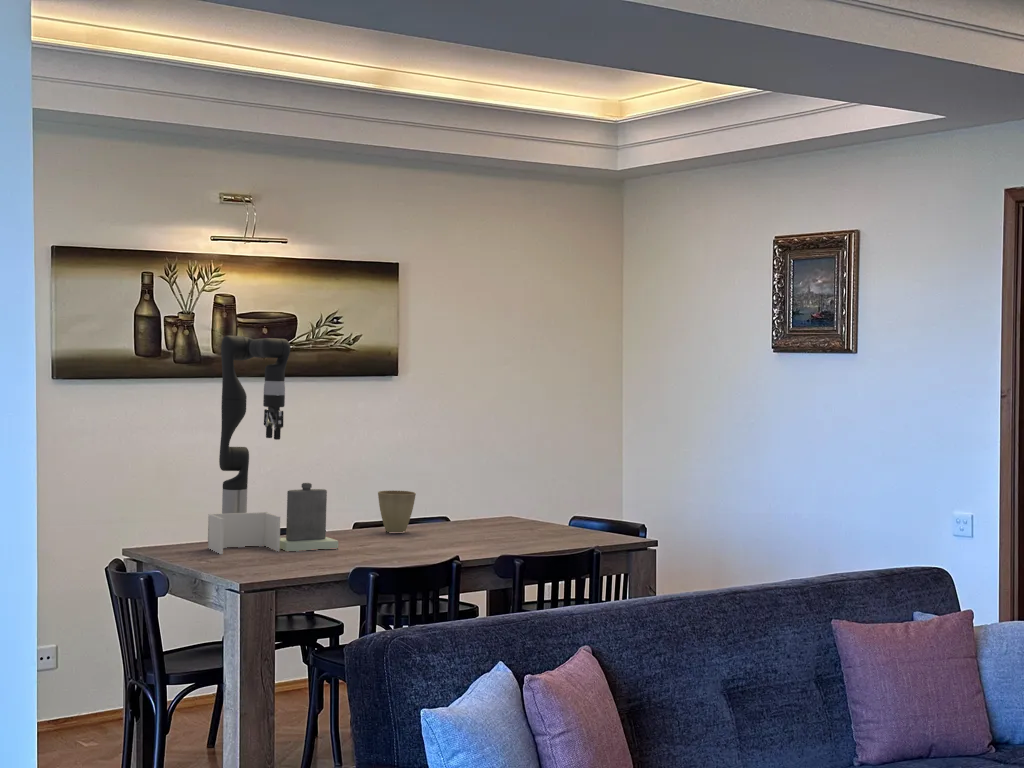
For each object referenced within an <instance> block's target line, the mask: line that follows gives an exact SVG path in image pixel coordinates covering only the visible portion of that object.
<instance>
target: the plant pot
mask: <svg viewBox="0 0 1024 768" xmlns="http://www.w3.org/2000/svg"><path fill="white" fill-rule="evenodd" d="M416 493H417V492H415V491H411V490H410V491H408V490H380V491H377V496H378V497H377V498H378V505H379V506H378V507H379V511H380V515H381V521H382V524H383V526H384V530H385V532H386V531H387V532H403V531H405V532H406V531H407V528H408V525H409V524H410V520H411V518H412V517H411V516H412V514H413V510H414V504H415V500H416ZM387 532H386V533H387Z"/></svg>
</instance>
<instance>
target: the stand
mask: <svg viewBox="0 0 1024 768" xmlns="http://www.w3.org/2000/svg"><path fill="white" fill-rule="evenodd" d="M330 548H338V549H339V540H337V539H334V538H332V537H331V538H330V537H328V536H326V538H325V539H321V540H302V541H287V540H286V537H280V550H281V549H283V550H285V551H284V552H286V551H296V552H300V551H299V550H311V549H330ZM283 550H282V551H283Z"/></svg>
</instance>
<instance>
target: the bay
mask: <svg viewBox="0 0 1024 768" xmlns="http://www.w3.org/2000/svg"><path fill="white" fill-rule="evenodd" d="M207 522H208V524H207V525H208V526H207V549H208V548H209V549H208V550H210V549H211V551H212V550H213V551H212V552H214V551H215V552H214V553H216V552H217V554H218V553H219V554H218V555H224V549H228V548H227V547H238V548H246V547H245V546H259V547H264V546H266V547H265V548H267V547H269V548H271V549H270V550H272V549H274V550H276V551H275V552H277V551H278V552H280V550H281V549H280V538H281V516H278V515H277V514H276V515H275V514H272V513H270V512H267V511H265V512H259V511H258V512H247V513H228V514H222V513H209V514H208V519H207ZM262 545H263V546H262ZM269 548H268V549H269ZM274 550H273V551H274Z"/></svg>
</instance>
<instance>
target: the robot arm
mask: <svg viewBox="0 0 1024 768" xmlns="http://www.w3.org/2000/svg"><path fill="white" fill-rule="evenodd" d="M220 349H221V351H220V352H221V355H220V356H221V370H222V371H221V372H222V379H221V380H222V385H221V387H222V388H221V389H222V390H221V407H220V408H221V432H220V442H219V443H220V445H219V458H218V459H219V461H218V462H219V469H220V470H221V471H222V472H238V474H237V475H235V476H234V477H232V478H230V479H226V480H224V481H222V492H221V493H222V499H221V509H222V510H221V514H228V513H248V483H249V482H248V480H249V476H248V475H249V465H250V451H249V448H248V447H246V446H230V442H231V439H232V437H233V435H234V433H235V431H236V429H237V427H238V426H239V425H240V423H241V422H243V419H244V417H245V415H246V414H247V400H248V399H247V392H246V391H245V389H244V386H243V385H242V383H241V381H240V380H239V378H238V377H237V374H236V371H235V366H234V365H235V363H234V361H246V360H249V359H252V358H261V359H262V358H263V359H265V358H266V359H268V358H269V359H271V358H272V359H276V361H275V363H270V364H267V365H266V366H265V367H264V384H263V404H262V406H263V407H264V408H267V409H264V410H263V426H265V437H266V439H272V438H273V439H274V441H275V440H276V441H277V440H278V441H279V440H280V439H281V429H282V428H284V410H281V408H285V405H286V403H285V402H286V401H285V399H286V398H285V397H286V386H285V377H286V376H285V375H286V374H285V373H286V372H285V371H286V367H287V365H288V364H287V363H288V360H289V357H290V353H291V344H290V342H289V341H288V339H285V338H273V337H271V338H270V337H266V338H255V339H253V338H250V337H248V336H244V335H225V336H224V337H223V338H222V341H221V347H220Z"/></svg>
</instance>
